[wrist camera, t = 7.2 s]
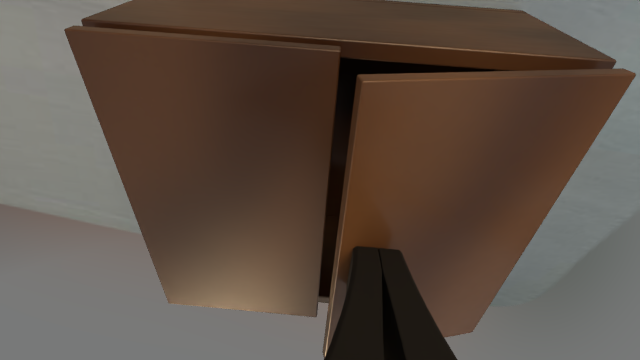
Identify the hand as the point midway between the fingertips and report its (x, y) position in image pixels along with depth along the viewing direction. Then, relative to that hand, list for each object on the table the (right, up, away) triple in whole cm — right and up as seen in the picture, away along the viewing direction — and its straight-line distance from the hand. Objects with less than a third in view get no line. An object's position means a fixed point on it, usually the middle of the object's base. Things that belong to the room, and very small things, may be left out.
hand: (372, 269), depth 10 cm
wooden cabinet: (-1, +5, +7) cm, 9 cm away
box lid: (+2, +1, +1) cm, 2 cm away
